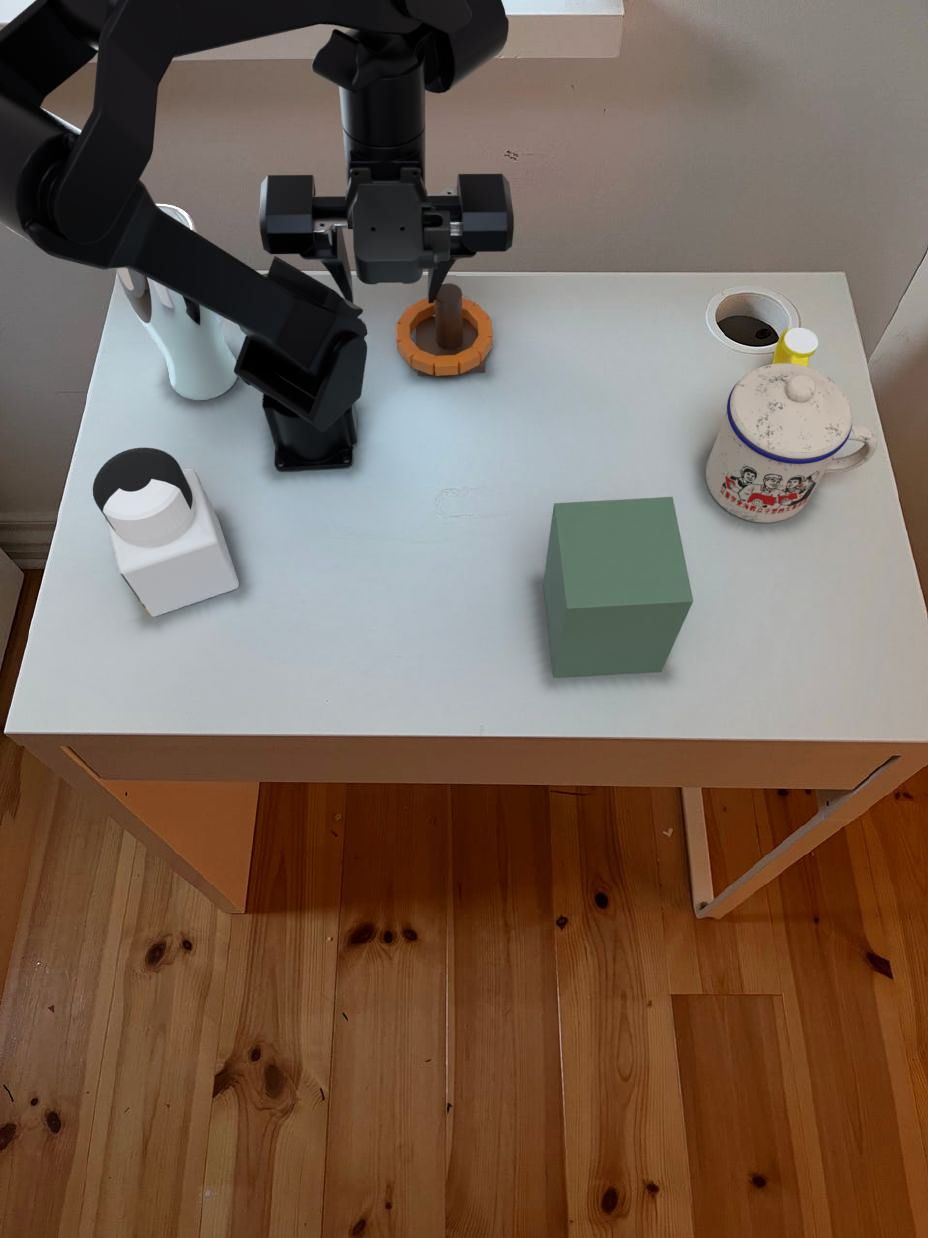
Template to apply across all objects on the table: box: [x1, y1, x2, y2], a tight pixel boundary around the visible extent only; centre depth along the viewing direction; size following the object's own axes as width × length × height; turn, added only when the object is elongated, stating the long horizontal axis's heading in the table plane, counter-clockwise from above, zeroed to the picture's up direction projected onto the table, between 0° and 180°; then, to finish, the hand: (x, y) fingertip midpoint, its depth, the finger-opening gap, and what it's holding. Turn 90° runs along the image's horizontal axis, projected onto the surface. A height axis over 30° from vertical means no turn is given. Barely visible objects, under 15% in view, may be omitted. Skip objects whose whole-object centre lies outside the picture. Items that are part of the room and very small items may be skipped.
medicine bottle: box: [92, 447, 240, 618], centre depth 65 cm, size 7×7×12 cm
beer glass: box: [115, 203, 239, 401], centre depth 73 cm, size 7×7×15 cm
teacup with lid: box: [705, 362, 878, 524], centre depth 68 cm, size 12×9×12 cm
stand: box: [415, 282, 486, 377], centre depth 78 cm, size 6×6×6 cm
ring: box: [395, 296, 493, 377], centre depth 79 cm, size 8×8×1 cm
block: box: [542, 496, 694, 679], centre depth 63 cm, size 8×8×11 cm
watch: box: [771, 327, 819, 367], centre depth 76 cm, size 6×3×6 cm, turn 175°
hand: (391, 300), depth 75 cm, fingers open, 6 cm apart
